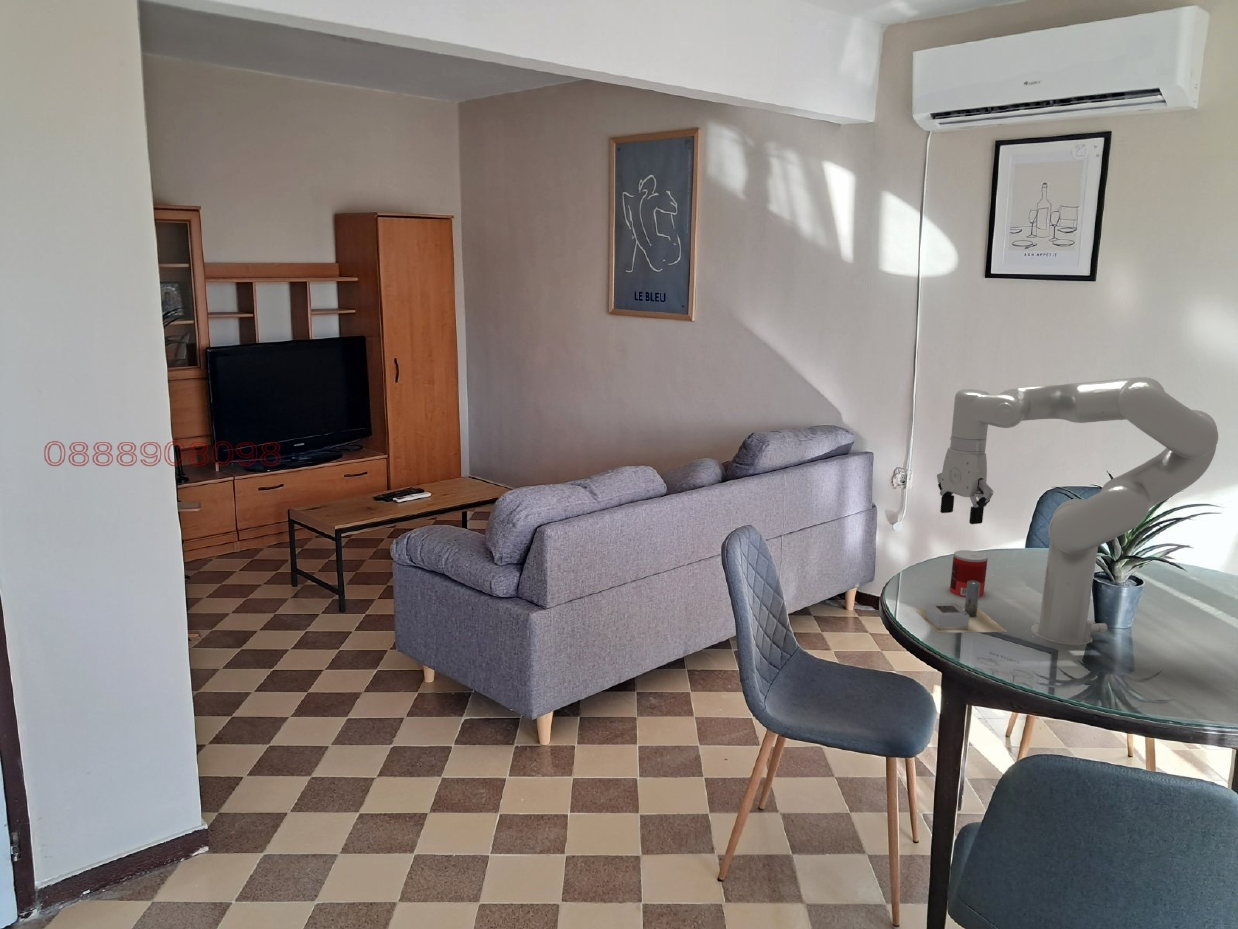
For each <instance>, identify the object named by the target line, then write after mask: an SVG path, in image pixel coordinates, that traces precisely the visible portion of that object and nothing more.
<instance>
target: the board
mask: <svg viewBox="0 0 1238 929" xmlns="http://www.w3.org/2000/svg"><path fill="white" fill-rule="evenodd" d="M962 609H963V610H964V608H962ZM913 611H915V613H917V615H919V616H920V618H922V619H923V620H924V621H925V622H926V623H927V624H928V625H929V626H931V628H933V630H935V632H937V633H938V634H940V633H941V634H942V633H943V634H944V633H945V634H946V633H947V634H949V633H951V634H952V633H954V634H955V633H956V634H957V633H1008V631H1007V630H1006V629H1005V628H1003V627H1002V626H1001V625H1000V624H998V623H997V622H996V621H995V620H993V619H992V617H990V616H989V615H987V613H985V612H984V611H983V610H981V609H980V608H977V616H976V617H969V623H968V630H937V629H936V628H935V627H934V626H933V625H932V624H931V623H930V622H929V621H928V620H927V619H925V612H926V608H914V609H913Z"/></svg>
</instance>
